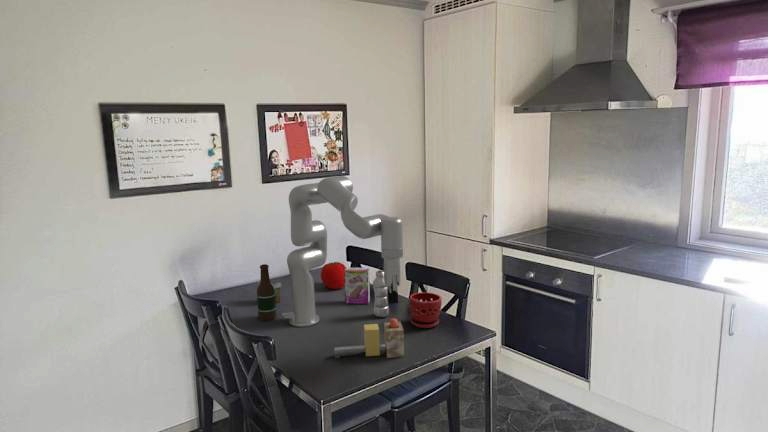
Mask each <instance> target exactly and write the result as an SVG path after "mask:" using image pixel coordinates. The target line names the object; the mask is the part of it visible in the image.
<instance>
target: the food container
mask: <svg viewBox="0 0 768 432" xmlns="http://www.w3.org/2000/svg"><path fill="white" fill-rule="evenodd" d="M260 281H261V279H260V280H258V282H257V286H256V287H257V288H258V286H259V285H260ZM270 283H271V284H272V286H273V287H274V290H275V298H276V305H277V304H279V303H281V288H282V283H281V282H277V283H275V282H272V281H270Z"/></svg>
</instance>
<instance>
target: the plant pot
mask: <svg viewBox="0 0 768 432" xmlns="http://www.w3.org/2000/svg"><path fill="white" fill-rule="evenodd" d="M442 300H443V299H442V296H441V295H439V294H437V293H433V292H425V291H424V292H423V291H422V292H416V293H412V294H410V296H409V302H408V303H409V304H408V305H409V312H410V315H411V319H410V323H411V324H412V326H415V327H417V328H421V329H430V328H434V327H437V325H438V324H439V323H440V320H439V316H440V314H441V309H442V303H443V301H442Z"/></svg>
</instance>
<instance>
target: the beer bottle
mask: <svg viewBox="0 0 768 432" xmlns="http://www.w3.org/2000/svg"><path fill="white" fill-rule="evenodd" d="M259 269H260V280H261V281H260V285H259V286H258V287H257V289H256V299H257V300H256V302H257V316H258V319H259V321H260V322H263V323H264V322H266V323H267V322H272V321H275V319H276V320H277V304H276V298H275V290H274V287H273V286H272V284H271V283H270V282H271V280H270V272H269V265H268V264H265V263H264V264H260V265H259Z"/></svg>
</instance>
